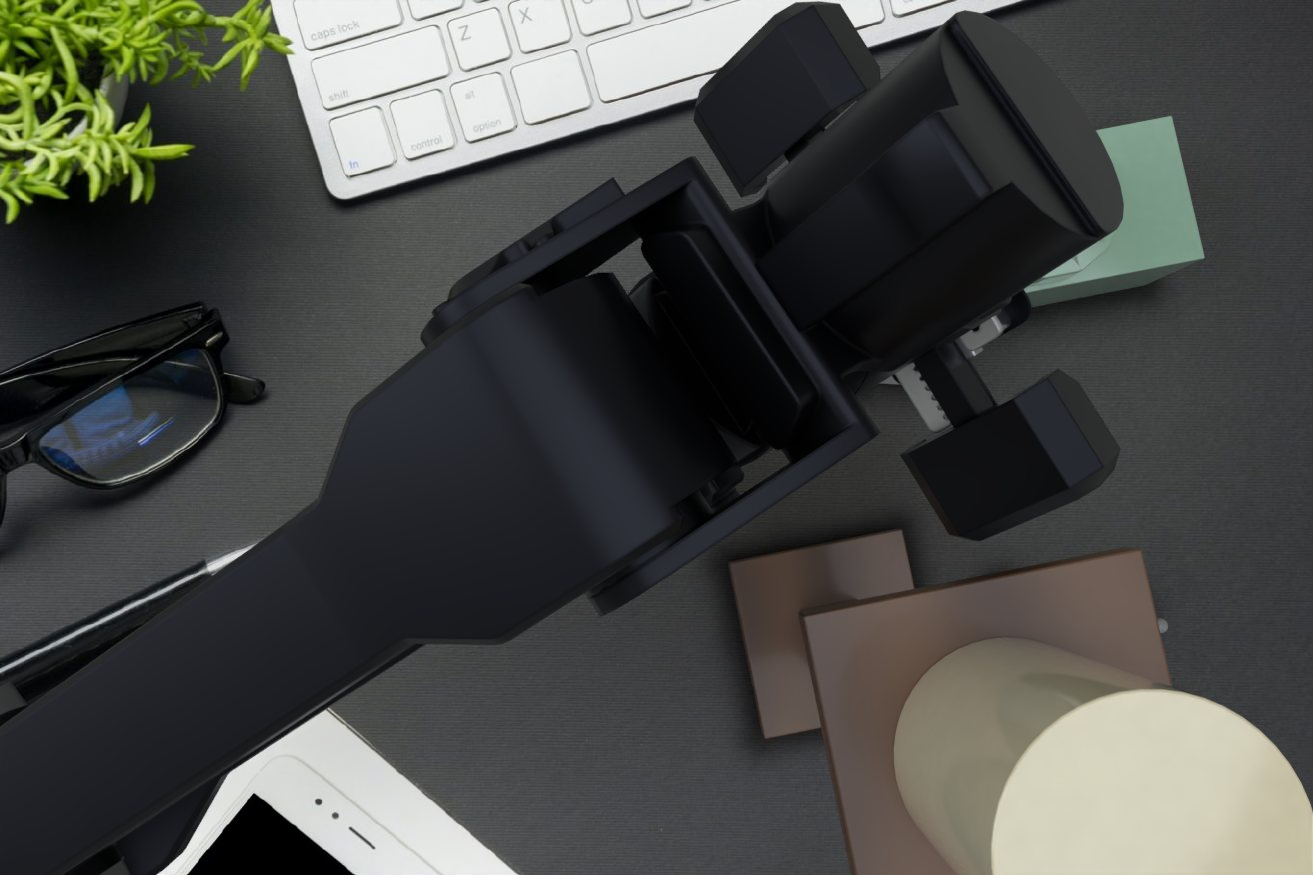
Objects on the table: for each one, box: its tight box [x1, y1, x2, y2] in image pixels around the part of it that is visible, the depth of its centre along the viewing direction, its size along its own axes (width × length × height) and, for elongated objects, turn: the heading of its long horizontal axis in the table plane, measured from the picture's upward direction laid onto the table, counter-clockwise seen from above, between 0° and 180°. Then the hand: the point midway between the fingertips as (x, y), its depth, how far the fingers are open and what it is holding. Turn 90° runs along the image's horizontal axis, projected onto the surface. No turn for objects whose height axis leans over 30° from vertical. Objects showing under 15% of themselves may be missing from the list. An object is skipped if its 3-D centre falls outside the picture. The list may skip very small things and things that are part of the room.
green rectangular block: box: [1024, 115, 1206, 308], centre depth 53 cm, size 11×7×8 cm, turn 101°
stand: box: [727, 528, 1173, 875], centre depth 41 cm, size 9×9×28 cm
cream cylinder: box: [894, 637, 1313, 875], centre depth 23 cm, size 6×6×8 cm
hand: (986, 233), depth 43 cm, fingers closed
